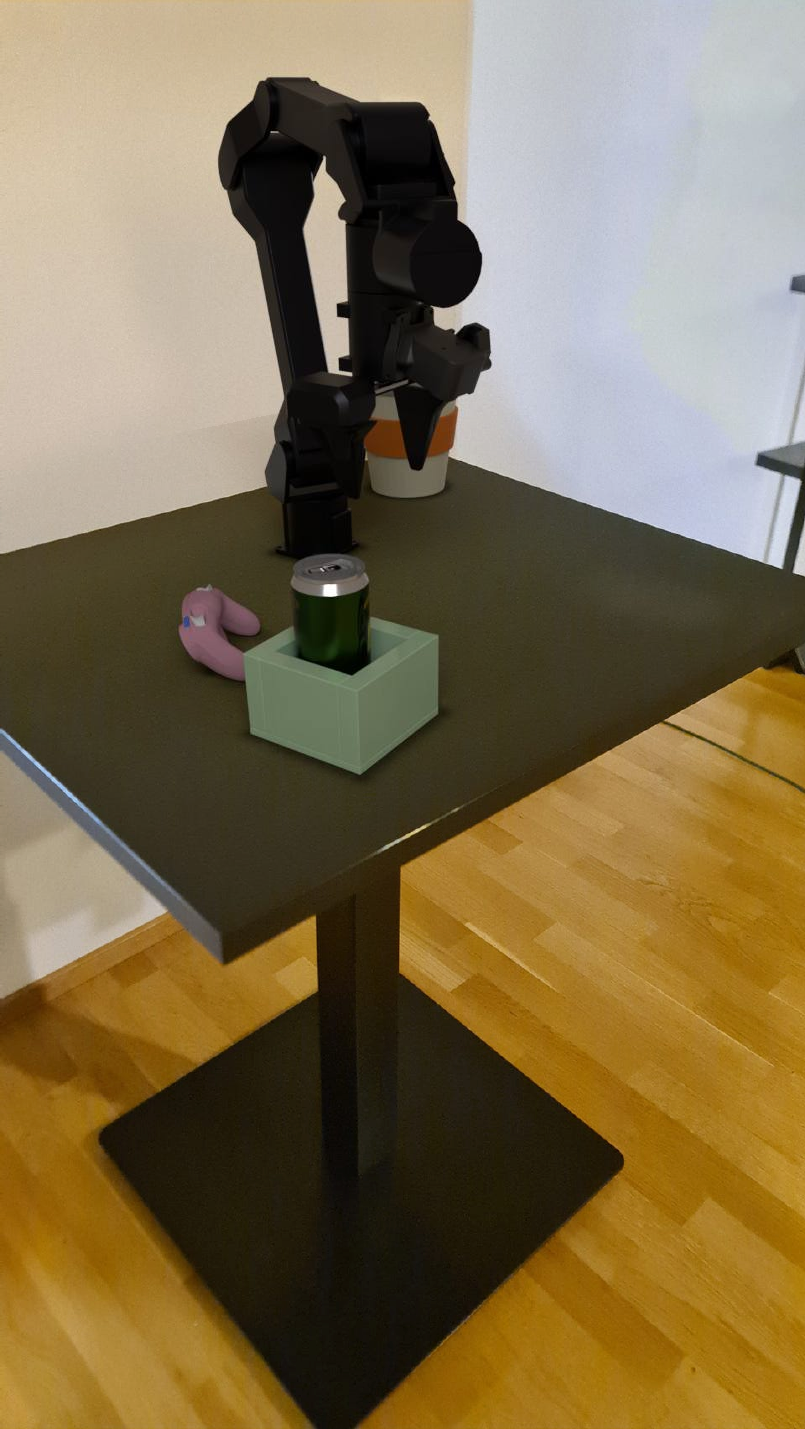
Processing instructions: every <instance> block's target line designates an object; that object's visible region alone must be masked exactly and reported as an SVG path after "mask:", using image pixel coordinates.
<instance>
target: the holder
mask: <svg viewBox="0 0 805 1429" xmlns="http://www.w3.org/2000/svg"><path fill="white" fill-rule="evenodd" d="M370 630H371V663H370V664H369V665H367V666H366V667H364V668H363V669H361V670H360V671H358V672H357V673H355V674H354V675H352V676H351V675H348V674H345V673H342V672H339V671H336V670H333V669H329V668H326V667H323V666H320V665H317V664H314V663H311V662H307V661H304V660H301V659H298V658H296V653H295V639H294V625H291V626H290V627H288V628H286V629H284V630H283V631H281V632H279V633H277V634H275V635H274V636H271V637H270V638H268V639H266V640H264V641H263V642H261V643H260V644H257V645H256V646H254V647H252V648H251V649H249V650H246V651H245V652H243V661H244V671H245V681H244V682H245V689H246V691H245V692H246V698H247V699H246V700H247V710H248V711H247V712H248V719H249V731H250V732H249V733H250V735H252V736H256V737H258V738H260V739H263V740H265V741H268V742H271V743H274V744H277V745H279V746H282V747H284V748H287V749H290V750H292V751H296V752H297V753H301V754H304V755H306V756H308V757H311V758H314V759H317V760H318V761H323V762H325V763H327V764H331V765H332V766H335V767H337V768H340V769H343V770H346V771H348V772H351V773H354V774H357V775H358V776H361V775H362V774H363V773H364V772H366V771H367V770H369V769H370V768H371V767H372V766H374V765H375V764H376V763H378V762H379V761H380V760H381V759H383V758H384V757H385V756H387V755H388V754H389V753H390V752H391V751H393V750H394V749H395V748H397V747H398V746H399V745H400V744H402V743H403V742H404V741H405V740H407V739H408V738H410V737H411V736H412V735H413V734H414V733H416V732H417V731H418V730H420V729H421V728H422V727H423V726H425V725H426V724H427V723H429V722H430V721H432V719H433V718H435V717H437V715H439V652H440V650H439V649H440V648H439V647H440V646H439V640H440V639H439V638H440V637H439V634H435V633H432V632H427V631H424V630H420V629H417V628H413V627H410V626H406V625H402V624H399V623H395V622H392V621H389V620H385V619H382V618H378V617H374V616H371V615H370Z"/></svg>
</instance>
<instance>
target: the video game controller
mask: <svg viewBox="0 0 805 1429" xmlns="http://www.w3.org/2000/svg"><path fill="white" fill-rule="evenodd" d="M181 605H182V606H181V619H182V623H181V624H179V626H178V635H179V637H180V640H181V642H182V644H183V646H184V648H185V650H186V651H187V653H188V654H189V655H190V657H191V658H192V659H193V660H194V661H196V662H197V663H200V664H203V665H204V666H206V667H207V668H208V669H210V670H212V671H213V672H215V673H217V674H218V675H221V676H223V677H225V678H227V679H230V680H234V681H236V682H237V681H238V682H246V681H245V671H244V661H243V653H244V651H242V650H240V649H239V648H238V647H236V646H234V645H233V644H231V643H230V642H229V640H228V637H227V635H226V633H225V631H227V632H230V633H232V634H235V635H239V636H244V637H245V636H246V637H253V636H256V635H257V634H258V633H259V632H260V629H261V624H260V620H259V618H258V617H257V615H256V614H255V613H253V612H252V611H251V610H250V609H248V608H247V607H245V606H243V605H241V604H239V603H238V602H236V601H234V600H233V599H231V598H230V597H229V596H227V595H226V594H225V593H224V592H223V591H221V590H220V589H218V588H216V587H213V586H212V585H211V583H209V584H208V585H207V586H206V587H205V588H204V587H201V586H200V587H197V588H196V589H194V590H192V591H190V592H189V593H187V594H186V595H185V596H184V598H183V601H182V604H181ZM224 630H225V631H224Z"/></svg>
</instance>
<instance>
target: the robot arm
mask: <svg viewBox="0 0 805 1429" xmlns="http://www.w3.org/2000/svg"><path fill="white" fill-rule="evenodd" d="M430 118H431V114H430V111H429V110H428V109H427V107H426V105H424V104H423V103H422V102H420V101H360V100H358V99H355V98H352V97H350V96H348V95H345V94H342V93H340V92H337V91H335V90H333V89H330V88H328V87H325V86H322V85H321V84H320V83H319V82H318V81H317V80H312V78H310V77H309V76H301V77H300V76H268V77H266V79H265V80H259V81H258V83H257V85H256V88H255V91H254V94H253V98H252V100H251V101H249V102H248V103H247V104H246V105H245V106H244V107H243V108H241V110H239V111H238V112H237V113H236V114H235V115H233V117H232V118H231V119H229V121H228V122H227V123H226V126H225V130H224V132H223V136H222V138H221V139H222V140H221V142H220V146H219V149H218V155H217V169H218V176H219V180H220V181H219V182H220V184H221V187H222V188H223V189H224V191H226V193H227V198H228V202H229V205H230V210H231V214H232V216H233V217H234V218H235V220H236V221H237V222H238V223H239V225H240V226H241V227H242V228H243V229H244V231H245V232H246V233H247V234H248V235H249V237H250V238H251V239H252V240H253V242H254V246H255V250H256V254H257V259H258V266H259V270H260V271H259V272H260V276H261V281H262V287H263V292H264V296H265V303H266V308H267V313H268V319H269V323H270V329H271V334H272V339H273V344H274V350H275V356H276V360H277V366H278V371H279V377H280V382H281V387H282V393H283V399H282V400H283V401H282V404H281V405H280V409H279V412H278V415H277V416H276V419H275V423H274V426H273V435H274V445H273V447H272V451H271V453H270V455H269V457H268V460H267V464H266V466H265V468H264V477H265V483H266V489H267V492H268V493H269V494H270V495H271V496H272V497H274V498H275V499H276V500H277V501H278V502H280V503H281V510H282V524H283V538H284V542H283V543H280V544H279V545H277V546H276V545H275V547H274V552H275V553H277V554H281V555H285V556H288V557H292V558H296V559H300V560H302V559H304V558H306V557H310V556H314V555H320V554H344V555H345V553H348V552H350V551H351V550H353V549H355V548H358V547H359V545H360V542H359V540H358V539H354V538H353V528H352V527H353V525H352V524H353V523H352V520H353V519H352V510H351V508H349V499H351V500H354V501H355V500H356V501H357V500H359V499H360V498H361V493H362V488H363V487H362V486H363V478H364V471H365V464H366V458H367V453H366V450H365V446H364V438H365V437H366V435H367V434H368V433H369V432H370V431H371V430H372V428H373V427H374V426H375V425H376V424H377V421H376V420H371V419H370V418H371V416H372V414H373V411H374V409H375V407H376V396H379V395H381V394H384V393H387V392H390V391H393V393H394V398H395V403H396V408H397V412H398V417H399V422H400V427H401V432H402V437H403V441H404V446H405V451H406V455H407V458H408V462H409V465H410V468H411V469H412V470H416V471H420V470H422V469H423V466H424V463H425V460H426V457H427V454H428V451H429V447H430V444H431V441H432V438H433V435H434V432H435V429H436V426H437V423H438V420H439V418H440V415H441V412H442V410H443V408H444V407H445V406H446V405H447V404H448V403H449V402H451V401H454V400H456V401H457V400H458V398H459V397H462V396H465V395H469V396H470V395H472V394H474V393H475V390H476V387H477V385H478V382H479V380H480V379H479V378H480V376H481V373H483V372H485V371H488V370H490V369H491V368H492V367H493V362H492V359H491V354H492V348H491V347H492V346H491V330H490V329H489V328H488V327H486V326H484V325H482V324H481V323H479V322H477V321H475V322H471V323H469V324H465V325H463V326H462V327H461V328H460V329H459V330H458V331H457V332H456V330H455V329H454V328H453V327H452V328H448V329H445V328H441V327H440V326H438V325H436V324H435V309H434V308H439V309H449V308H452V307H455V306H458V305H459V304H461V303H462V302H464V301H465V300H466V299H467V298H468V297H469V296H470V295H471V294H472V293H473V291H474V290H475V288H476V287H477V284H478V282H479V279H480V277H481V274H482V269H483V268H482V267H483V252H482V251H481V248H480V244H479V241H478V239H477V237H476V235H475V233H474V232H473V230H472V229H471V228H470V227H469V226H468V225H467V224H465V223H464V222H462V220H459V202H458V199H457V195H456V191H455V188H454V187H455V186H456V183H457V182H456V179H455V176H454V175H453V173H452V170H451V168H450V166H449V163H448V161H447V159H446V156H445V153H444V151H443V147H442V143H441V140H440V136H439V134H438V131H437V128H436V125H435V123H434V122H433V121H432V120H431V119H430ZM324 159H325V172H326V174H327V175H328V176H329V177H330V178H331V180H333V181H334V182H335V184H336V185H337V187H338V189H339V191H340V193H341V195H342V197H343V198H344V201H343V203H341V205H340V207H339V208H338V211H337V216H338V219H339V220H340V221H344V222H345V224H344V226H345V227H344V232H345V258H346V259H345V262H346V288H347V289H346V291H347V292H346V293H347V294H346V296H347V297H346V298H347V300H346V301H342V302H337V303H336V318H340V319H347V326H348V328H347V329H348V330H347V332H348V354H347V355H343V356H340V357H338V358H337V360H338V371H339V372H344V373H350V374H351V375H346V374H340V373H333V372H330V369H329V368H330V367H329V363H328V359H327V352H326V347H325V340H324V335H323V330H322V324H321V319H320V313H319V308H318V302H317V297H316V291H315V284H314V281H313V274H312V269H311V264H310V257H309V252H308V247H307V242H306V240H307V239H306V234H305V225H306V222H307V220H308V217H309V215H310V211H311V208H312V205H313V203H314V199H315V196H316V194H315V193H316V192H315V185H314V182H315V180H316V177H317V175H318V173H319V171H320V168H321V167H322V163H323V161H324ZM375 381H378V383H376V384H375Z"/></svg>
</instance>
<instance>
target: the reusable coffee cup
mask: <svg viewBox="0 0 805 1429" xmlns="http://www.w3.org/2000/svg"><path fill="white" fill-rule="evenodd" d="M376 383H378V381H375V384H376ZM456 402H457V399H456V400H454V401H451V402H449V403H448V404H447V405H446V406H445V407H444V408H443V410H442V412H441V415H440V418H439V420H438V423H437V426H436V429H435V432H434V435H433V438H432V441H431V444H430V447H429V451H428V454H427V457H426V460H425V463H424V466H423V469H422V470H420V471H416V470H412V469H411V468H410V465H409V462H408V458H407V455H406V451H405V446H404V441H403V437H402V432H401V427H400V422H399V417H398V412H397V408H396V403H395V398H394V393H393V391H390V392H387V393H384V394H381V395H379V396H376V407H375V409H374V411H373V414H372V416H371V418H370V419H371V420H376V421H377V424H376V425H375V426H374V427H373V428H372V430H371V431H370V432H369V433H368V434H367V435H366V437H365V438H364V446H365V450H366V459H367V465H368V471H369V478H370V485H371V489H372V491H374V492H375V493H377V494H379V495H383V496H387V497H391V498H402V499H403V498H405V499H407V498H408V499H409V498H410V499H411V498H423V497H428V496H432V495H435V494H438V493H440V492H442V491H443V490H444V489H445V487H446V486H445V485H446V478H447V470H448V463H449V455H450V450H452V449H453V447H454V444H455V438H456V429H457V423H458V414H459V407H458V406H457V405H456V404H457V403H456Z"/></svg>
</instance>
